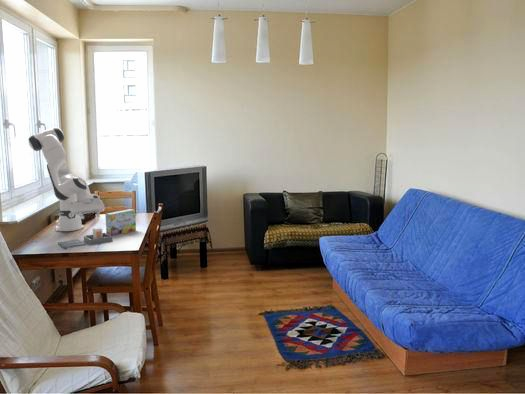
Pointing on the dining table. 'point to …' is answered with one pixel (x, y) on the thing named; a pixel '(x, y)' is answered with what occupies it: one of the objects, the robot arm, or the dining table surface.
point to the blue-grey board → (71, 243)
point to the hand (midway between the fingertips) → (90, 217)
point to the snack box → (120, 222)
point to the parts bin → (91, 241)
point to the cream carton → (97, 233)
